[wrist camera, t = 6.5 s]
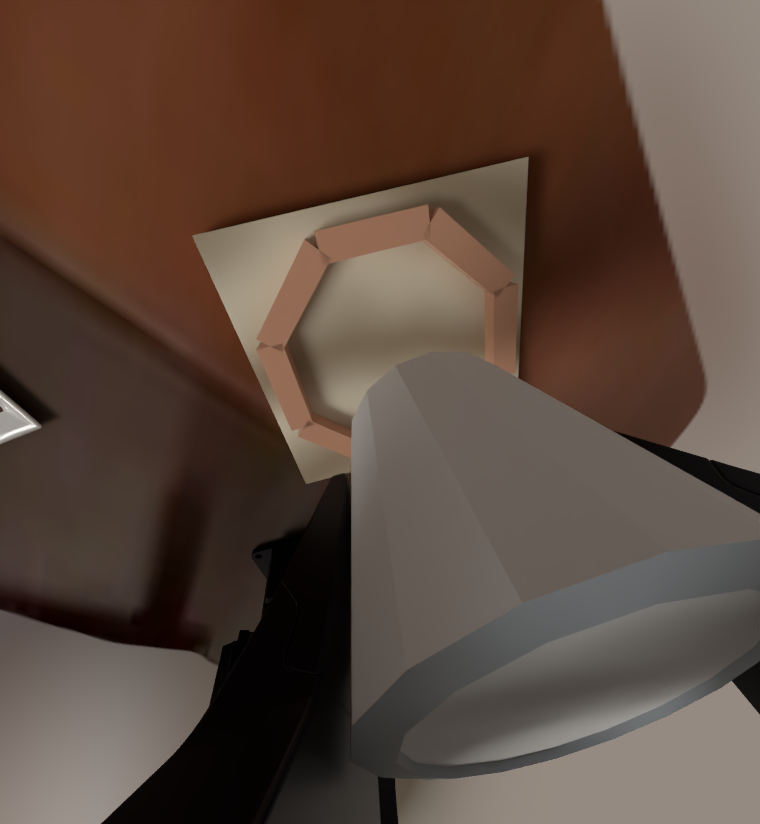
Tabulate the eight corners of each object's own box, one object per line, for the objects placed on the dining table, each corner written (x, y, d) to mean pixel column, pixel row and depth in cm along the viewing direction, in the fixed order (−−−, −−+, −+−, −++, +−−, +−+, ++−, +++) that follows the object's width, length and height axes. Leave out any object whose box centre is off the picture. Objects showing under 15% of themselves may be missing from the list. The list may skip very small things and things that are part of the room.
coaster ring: (504, 420, 20) (512, 429, 19) (314, 471, 19) (314, 482, 19) (509, 184, 13) (522, 181, 12) (221, 253, 13) (214, 255, 12)
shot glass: (497, 278, 8) (979, 416, 2) (552, 447, 12) (793, 677, 6) (283, 410, 9) (212, 762, 3) (394, 530, 13) (461, 803, 7)
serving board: (506, 417, 21) (515, 427, 20) (306, 471, 21) (306, 484, 20) (513, 161, 14) (528, 156, 13) (201, 235, 13) (192, 235, 12)
